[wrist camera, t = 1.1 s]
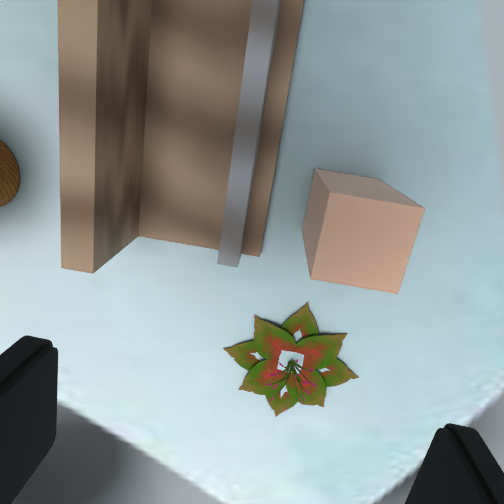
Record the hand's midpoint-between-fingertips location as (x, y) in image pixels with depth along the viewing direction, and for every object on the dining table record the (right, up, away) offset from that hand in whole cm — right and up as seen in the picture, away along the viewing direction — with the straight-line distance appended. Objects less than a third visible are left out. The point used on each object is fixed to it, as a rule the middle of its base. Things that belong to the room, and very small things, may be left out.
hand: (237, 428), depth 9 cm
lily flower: (+4, -6, +27) cm, 28 cm away
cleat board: (-4, +15, +19) cm, 25 cm away
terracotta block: (+7, +8, +21) cm, 24 cm away
